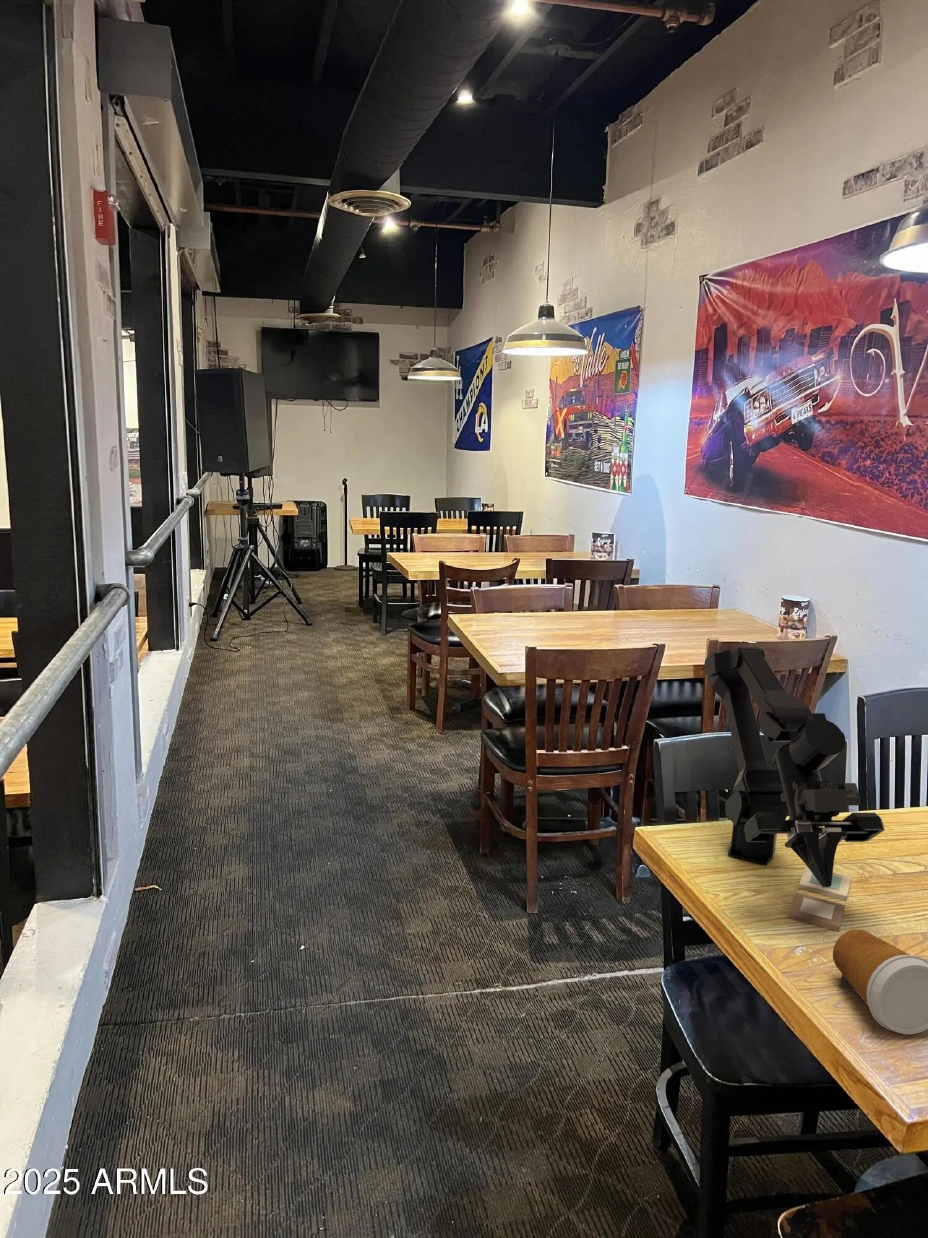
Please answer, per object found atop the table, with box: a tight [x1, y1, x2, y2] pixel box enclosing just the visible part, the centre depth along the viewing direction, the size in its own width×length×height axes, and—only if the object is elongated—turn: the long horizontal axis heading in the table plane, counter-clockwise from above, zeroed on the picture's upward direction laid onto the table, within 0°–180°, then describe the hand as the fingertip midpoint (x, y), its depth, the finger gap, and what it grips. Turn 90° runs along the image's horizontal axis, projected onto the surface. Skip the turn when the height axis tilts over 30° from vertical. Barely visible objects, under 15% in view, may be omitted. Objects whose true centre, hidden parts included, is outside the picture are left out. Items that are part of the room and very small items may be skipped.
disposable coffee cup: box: [832, 928, 928, 1035], centre depth 105 cm, size 10×10×12 cm
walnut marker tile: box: [787, 891, 846, 932], centre depth 127 cm, size 7×7×1 cm
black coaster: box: [839, 973, 857, 993], centre depth 110 cm, size 4×4×1 cm
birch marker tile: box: [798, 865, 852, 902], centre depth 135 cm, size 7×7×1 cm
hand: (827, 887), depth 119 cm, fingers closed
